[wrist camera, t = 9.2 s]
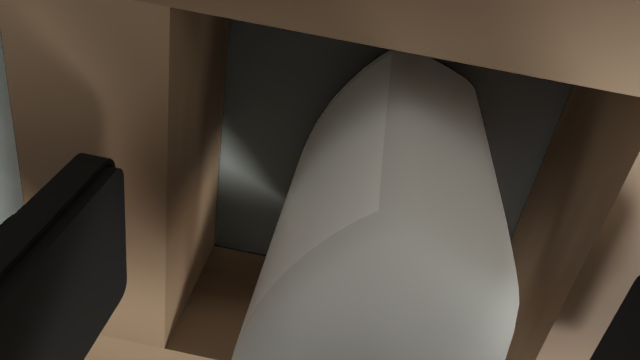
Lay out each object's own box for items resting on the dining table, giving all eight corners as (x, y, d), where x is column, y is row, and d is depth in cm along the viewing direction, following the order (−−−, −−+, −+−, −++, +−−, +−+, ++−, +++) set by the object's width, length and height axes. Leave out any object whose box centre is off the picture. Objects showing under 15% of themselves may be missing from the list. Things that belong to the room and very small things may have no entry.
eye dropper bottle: (240, 129, 15) (-126, 759, 5) (439, 17, 13) (542, 712, 3) (330, 251, 17) (199, 919, 6) (520, 169, 15) (778, 966, 4)
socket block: (90, -361, 10) (-67, -456, 7) (888, -226, 10) (1140, -257, 6) (119, 343, 20) (58, 450, 16) (531, 432, 19) (557, 561, 16)
